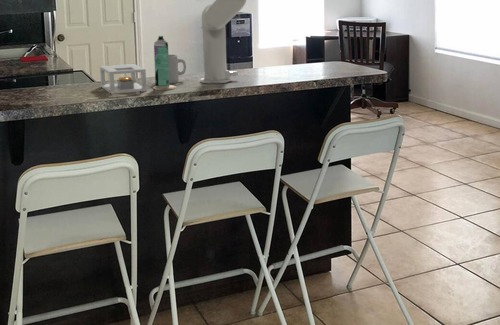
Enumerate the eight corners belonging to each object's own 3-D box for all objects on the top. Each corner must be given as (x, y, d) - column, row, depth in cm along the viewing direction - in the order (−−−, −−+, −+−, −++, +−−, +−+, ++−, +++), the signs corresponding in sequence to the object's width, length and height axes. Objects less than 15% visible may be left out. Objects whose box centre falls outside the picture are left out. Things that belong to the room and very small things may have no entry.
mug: (160, 84, 288) (158, 57, 285) (156, 80, 296) (155, 55, 293) (188, 82, 291) (187, 55, 288) (184, 79, 299) (183, 53, 296)
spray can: (169, 85, 280) (168, 35, 274) (169, 88, 274) (167, 36, 269) (155, 85, 279) (154, 35, 273) (155, 88, 274) (153, 36, 268)
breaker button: (130, 86, 277) (129, 76, 276) (133, 88, 272) (133, 78, 271) (118, 87, 275) (117, 77, 274) (121, 89, 270) (120, 79, 269)
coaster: (171, 85, 283) (171, 84, 283) (178, 89, 275) (178, 87, 275) (150, 87, 279) (150, 86, 279) (156, 91, 271) (156, 89, 271)
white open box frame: (135, 84, 288) (133, 63, 286) (146, 90, 272) (145, 69, 270) (101, 87, 283) (99, 66, 280) (111, 94, 267) (109, 71, 264)
